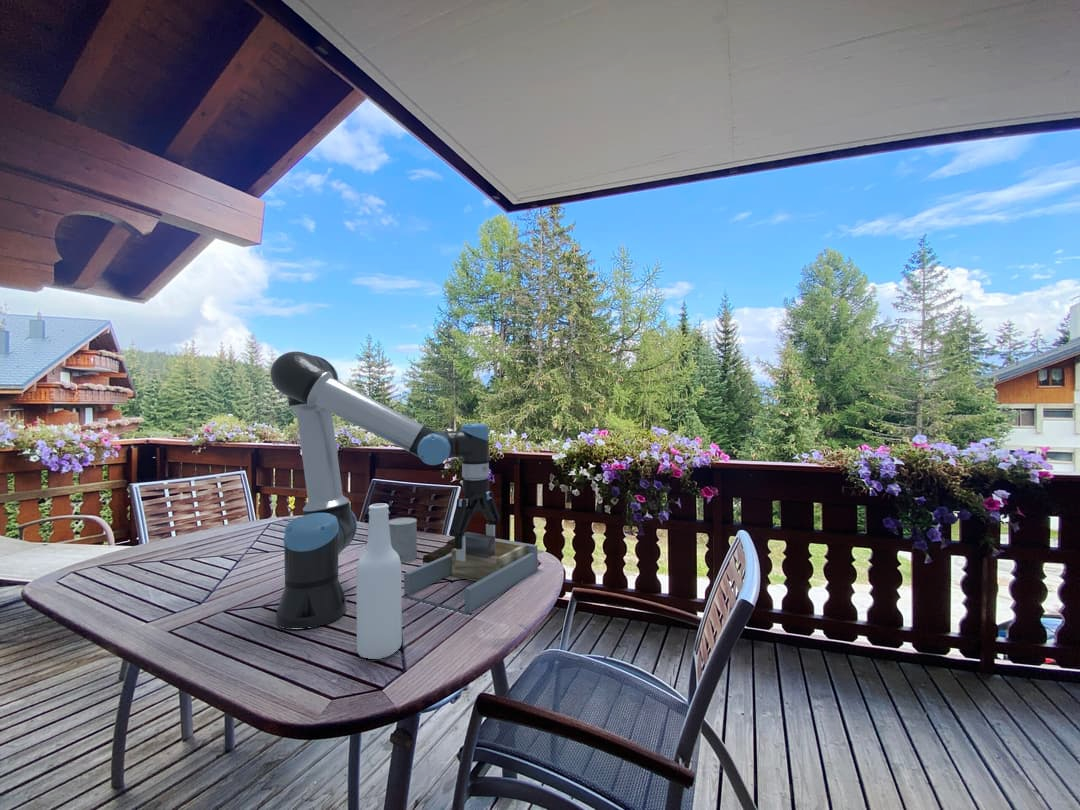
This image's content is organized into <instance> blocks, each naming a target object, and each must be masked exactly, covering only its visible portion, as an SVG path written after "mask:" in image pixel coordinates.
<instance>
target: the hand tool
mask: <svg viewBox="0 0 1080 810" xmlns="http://www.w3.org/2000/svg"><path fill="white" fill-rule="evenodd" d="M452 549H455V537H453V538H451V539H449V540H447V542H446V544H445V545H444V546H442V547H440V548H438V549H436V550H434V551H432V552H430V553H428V554H423V557H422V564H427V563H430V562H432V561H434V560H437V559H439V558H442V557H444V556H446V555H449V554H451V553H452Z"/></svg>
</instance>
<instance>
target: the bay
mask: <svg viewBox="0 0 1080 810" xmlns="http://www.w3.org/2000/svg"><path fill="white" fill-rule="evenodd" d="M495 540H499V541H505V542H511V543H517V544H523V545H527V555H525V556H523V557H521V558H519V559H518V560H516V561H514V562H512V563H510V564H508V565H507V566H505V567H503V568H501V569H499V570H497V571H496V572H494V573H492V574H490V575H488V576H486V577H485V578H483V579H481V580H479V581H476V582H473V583H472V584H470V585H468V586H466V587H465V588H464V603H465V604H464V610H461V609H457V608H454V607H451V606H447V605H443V604H440V603H437V602H432V601H429V600H425V599H421V598H419V597H418V598H417V597H414V596H411V595H412V594H414V593H415V592H417V591H420V590H422V589H424V588H426V587H428V586H430V585H432V584H435V583H436V582H438V581H440V580H443V579H445V578H446V577H448V576H450V575H452V552H451V553H449V554H447V555H445V556H444V557H442V558H439V559H437V560H434V561H432V562H430V563H424V564H422V565H421V566H418V567H416V568H414V569H411V570H409V571H407V572H404V573H403V574H404V575H403V590H404V591H403V594H404V597H403V598H404V599H406V600H409V599H410V600H409V601H413V600H415V601H414V602H416V601H418V602H417V603H420V602H422V603H421V604H424V603H426V604H425V605H427V604H430V605H429V606H431V605H433V606H432V607H434V606H438V607H441V608H445V609H449V610H453V611H455V612H454V613H456V612H459V613H462V614H461V615H463V614H466V615H470V616H471V615H472V614H474V613H472V611H474V610H476V609H477V608H479V607H481V606H482V605H484V604H486V602H489V601H490V600H492V599H494V598H495V597H496V596H499V595H500V594H501V593H503V592H505V591H506V590H507V589H509V588H511V587H512V586H514V585H516V584H518V583H519V582H521V581H522V580H524V579H525V578H527V577H528V576H530V575H532V574H534V573H535V572H536V571H538V569H539V568H538V563H539V561H538V560H539V559H538V558H539V556H538V545H537V544H531V543H525V542H519V541H514V540H507V539H504V538H503V539H501V538H496V537H495ZM438 607H437V608H438ZM441 608H440V609H441ZM445 609H444V610H445ZM449 610H448V611H449ZM459 613H458V614H459ZM466 615H465V616H466ZM470 616H469V617H470ZM472 616H473V615H472ZM472 616H471V617H472Z"/></svg>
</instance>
